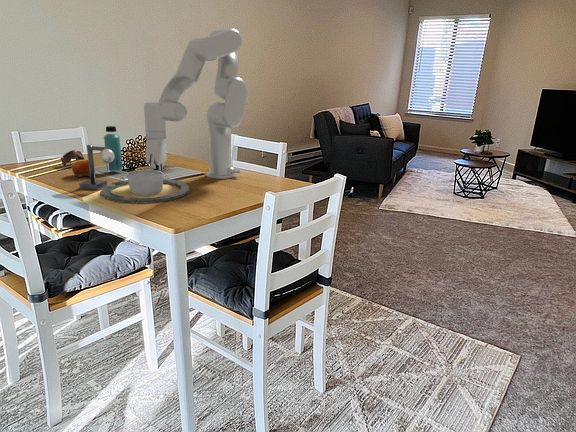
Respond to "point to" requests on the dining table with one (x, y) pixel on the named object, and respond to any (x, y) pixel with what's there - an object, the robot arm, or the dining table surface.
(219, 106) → the robot arm
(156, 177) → the ramekin
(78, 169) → the fruit
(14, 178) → the dining table surface
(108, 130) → the beverage bottle
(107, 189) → the ring
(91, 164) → the dial gauge stand
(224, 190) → the dining table surface
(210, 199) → the dining table surface
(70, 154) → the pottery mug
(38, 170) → the dining table surface
